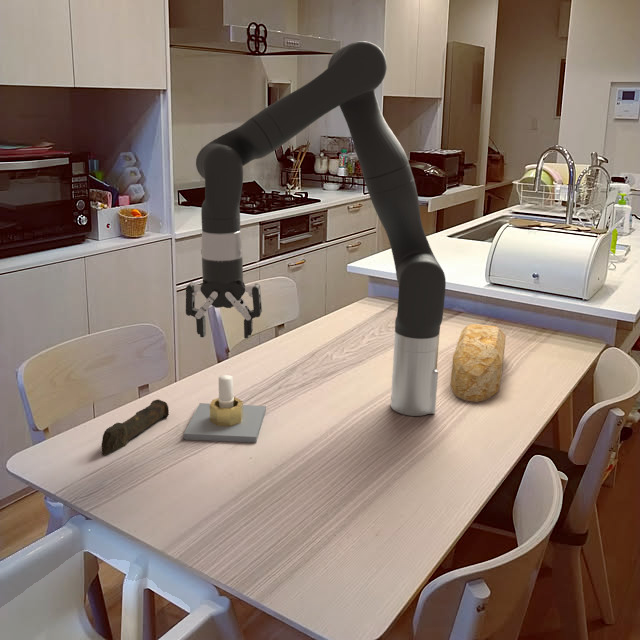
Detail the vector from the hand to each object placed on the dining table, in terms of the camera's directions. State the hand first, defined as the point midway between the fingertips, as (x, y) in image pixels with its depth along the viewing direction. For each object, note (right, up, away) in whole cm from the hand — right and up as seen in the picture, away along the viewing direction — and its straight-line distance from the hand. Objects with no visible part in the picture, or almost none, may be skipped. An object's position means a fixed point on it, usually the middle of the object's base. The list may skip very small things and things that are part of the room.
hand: (224, 336), depth 137 cm
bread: (+57, -10, +36) cm, 68 cm away
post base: (0, -18, +6) cm, 19 cm away
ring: (0, -17, +6) cm, 18 cm away
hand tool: (-17, -20, +1) cm, 26 cm away
